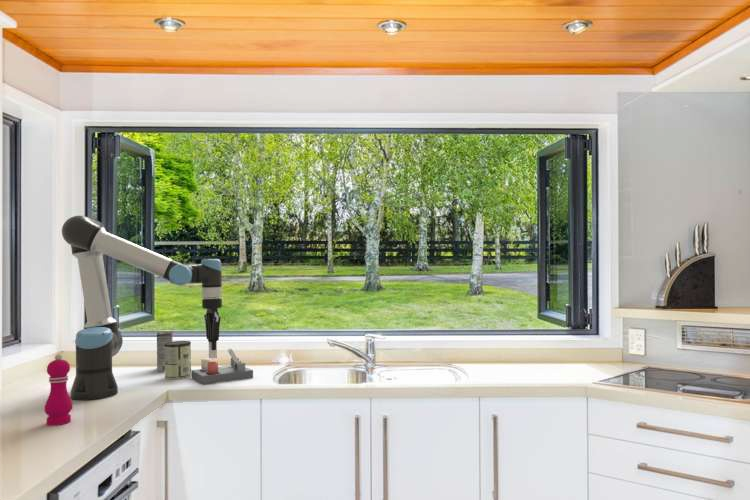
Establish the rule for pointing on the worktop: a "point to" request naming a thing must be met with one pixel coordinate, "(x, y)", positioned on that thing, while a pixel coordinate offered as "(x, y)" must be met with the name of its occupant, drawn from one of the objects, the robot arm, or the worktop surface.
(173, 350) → the coffee can
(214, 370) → the button red
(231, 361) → the slider knob
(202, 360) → the button ivory
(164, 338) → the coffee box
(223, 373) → the panel
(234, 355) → the lever
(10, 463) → the worktop surface
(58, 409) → the pepper mill
